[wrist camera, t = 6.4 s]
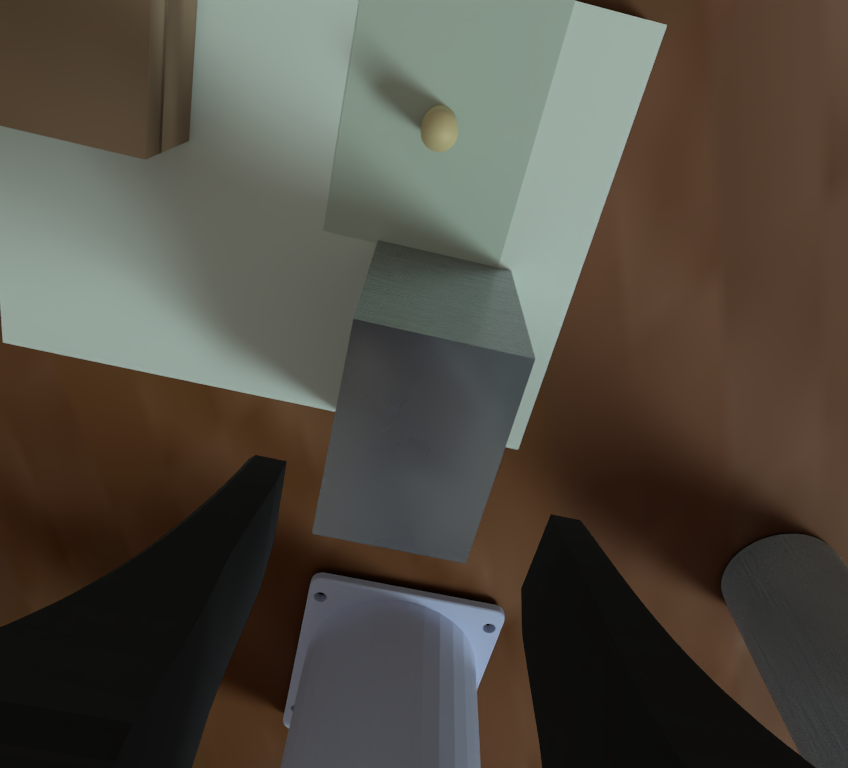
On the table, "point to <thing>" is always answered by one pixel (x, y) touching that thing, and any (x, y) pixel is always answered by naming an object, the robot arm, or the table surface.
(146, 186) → the base
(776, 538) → the grey cylinder
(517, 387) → the grey block
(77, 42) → the cover
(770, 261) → the table surface
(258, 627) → the table surface
